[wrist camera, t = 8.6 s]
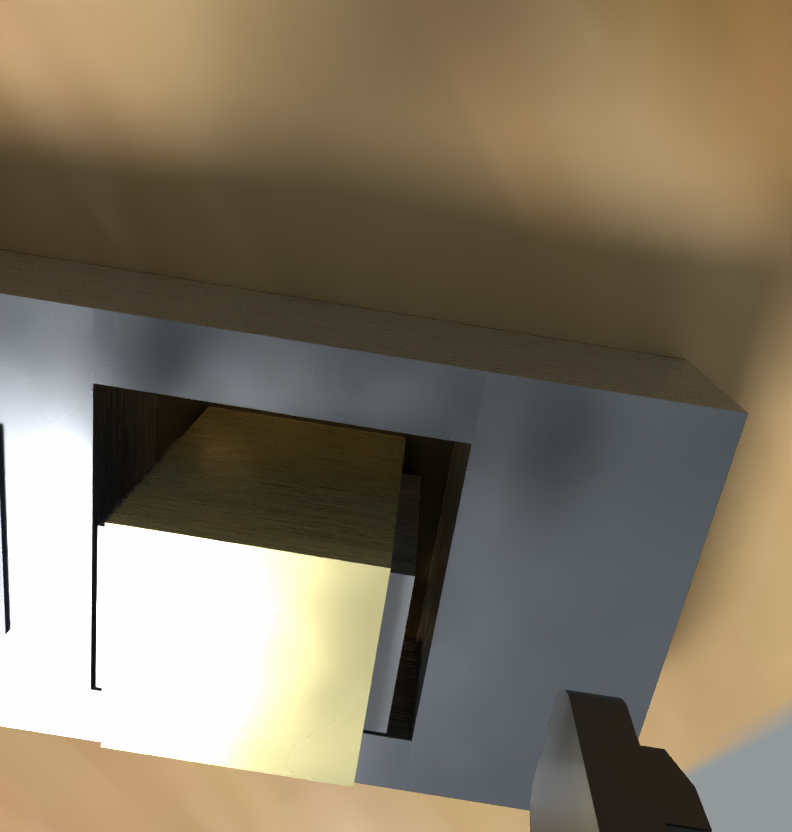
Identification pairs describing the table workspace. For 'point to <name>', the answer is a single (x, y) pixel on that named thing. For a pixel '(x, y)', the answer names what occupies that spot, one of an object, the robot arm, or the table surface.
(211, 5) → the table surface
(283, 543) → the brushed gold cube
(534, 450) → the silver slotted board
